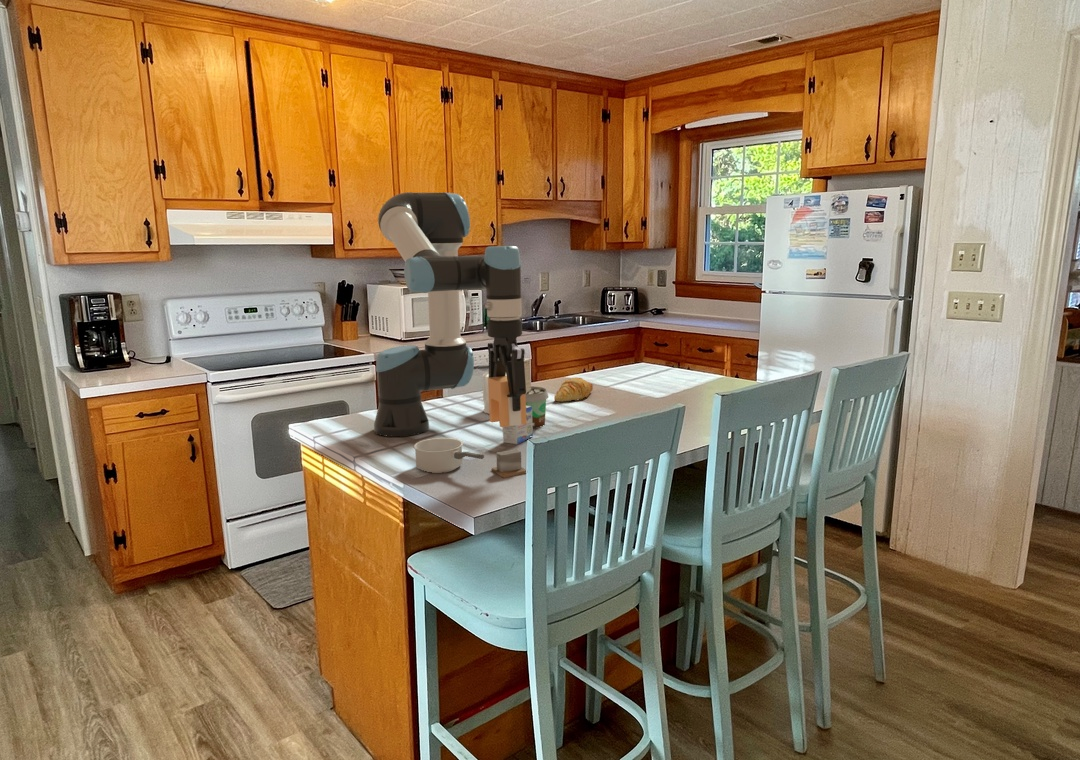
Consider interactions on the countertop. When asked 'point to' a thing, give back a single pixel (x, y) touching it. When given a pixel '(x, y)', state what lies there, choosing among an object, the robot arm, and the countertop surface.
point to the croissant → (573, 390)
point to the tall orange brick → (502, 401)
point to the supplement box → (527, 374)
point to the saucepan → (440, 454)
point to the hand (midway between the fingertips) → (507, 421)
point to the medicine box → (519, 430)
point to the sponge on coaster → (509, 463)
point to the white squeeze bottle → (486, 392)
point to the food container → (537, 405)
